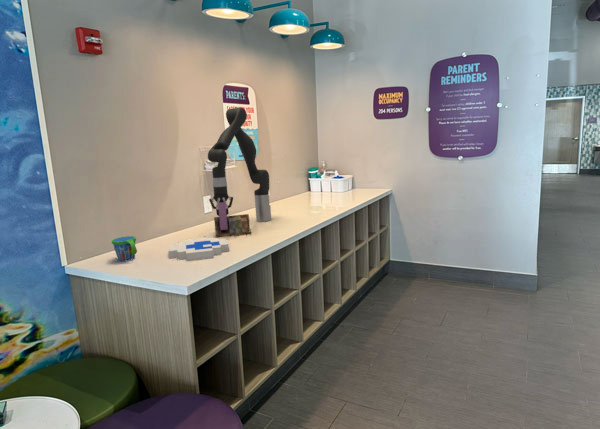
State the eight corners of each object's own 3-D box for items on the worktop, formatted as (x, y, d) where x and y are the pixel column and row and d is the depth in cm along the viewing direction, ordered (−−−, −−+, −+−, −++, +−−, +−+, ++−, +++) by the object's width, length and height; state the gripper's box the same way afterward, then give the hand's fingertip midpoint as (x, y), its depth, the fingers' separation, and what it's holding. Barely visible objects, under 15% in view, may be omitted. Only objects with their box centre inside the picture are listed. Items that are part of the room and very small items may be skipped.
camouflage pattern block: (249, 229, 249) (248, 214, 248) (251, 234, 238) (250, 217, 236) (215, 233, 246) (214, 217, 244) (215, 237, 234) (214, 221, 232)
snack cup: (108, 259, 202) (105, 238, 200) (129, 254, 209) (127, 234, 207) (122, 264, 191) (120, 243, 189) (144, 259, 199) (142, 238, 197)
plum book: (227, 225, 244) (224, 200, 242) (227, 229, 235) (225, 202, 232) (220, 226, 244) (217, 201, 241) (220, 230, 234) (218, 203, 231)
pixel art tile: (224, 235, 223) (230, 248, 196) (225, 242, 224) (230, 256, 197) (169, 241, 216) (167, 255, 189) (170, 248, 217) (168, 264, 190)
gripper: (232, 183, 240) (234, 213, 243) (207, 185, 237) (209, 215, 240) (233, 185, 232) (235, 215, 236) (207, 187, 230) (209, 217, 233)
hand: (222, 215), depth 238 cm, fingers closed on plum book, 4 cm apart
